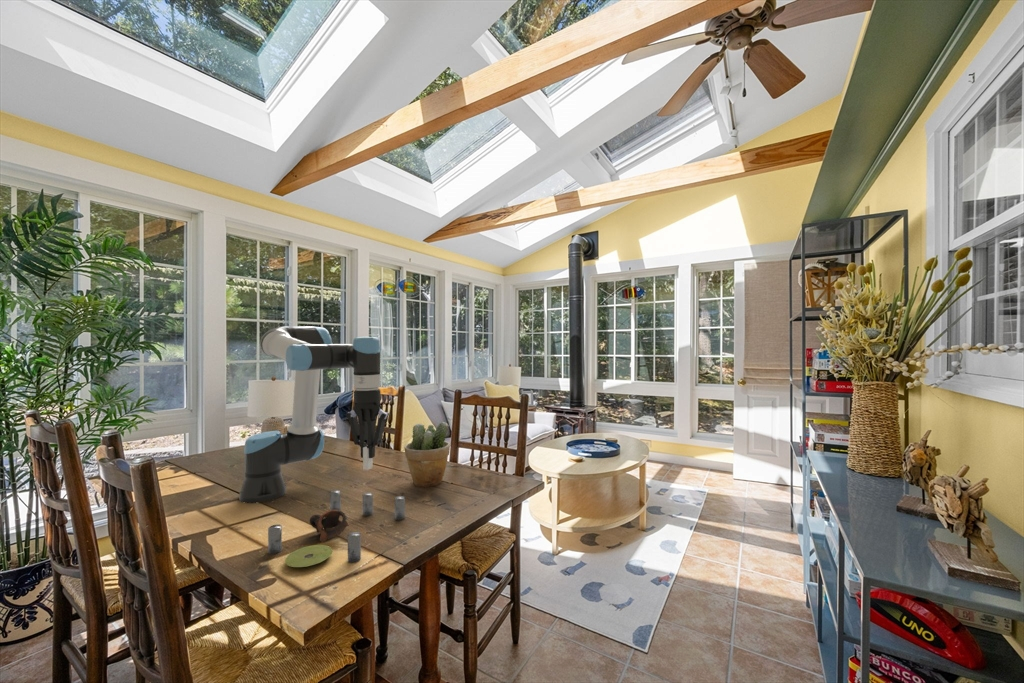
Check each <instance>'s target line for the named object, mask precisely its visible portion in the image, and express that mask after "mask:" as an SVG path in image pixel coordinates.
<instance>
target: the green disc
mask: <svg viewBox="0 0 1024 683" xmlns="http://www.w3.org/2000/svg"><path fill="white" fill-rule="evenodd" d="M333 553H334V551H333V549H332V547H331V546H328V545H327V544H313V545H306V546H303V547H299V548H298V549H296V550H294V551H292V552H290V553H288V555H287V556H286V557H285V559H284V564H285V565H287V566H289V567H293V568H304V567H306V568H307V567H310V566H311V567H312V566H314V565H317V564H320V563H322V562H324V561H325V560H327V559H328V558H330V557H331V556H332V554H333Z"/></svg>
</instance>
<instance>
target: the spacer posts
mask: <svg viewBox="0 0 1024 683" xmlns="http://www.w3.org/2000/svg"><path fill="white" fill-rule="evenodd" d="M329 495H330V496H329V499H330V500H329V502H330V504H329V505H330V506H329V507H330V508H329V511H330V510H339V511H341V502H342V501H341V498H342V497H341V490H340V489H339V490H337V489H335V490H332V491H330V492H329ZM373 498H374V494H373V492H370V491H369V492H363V494H362V517H370V516H373V515H374V499H373ZM405 518H406V496H404V495H399V496H398V495H397V496H396V497H394V520H395V521H403V520H405ZM282 534H283V532H282V525H281V524H274V525H270V526H268V528H267V540H268V542H267V544H268V545H267V547H268V548H267V549H268V550H267V551H268V552H267V553H268V555H276V554H277V555H278V554H279V553H281V552H282V550H283V548H282V546H283V543H282V542H283V540H282ZM361 537H362V535H361V532H359V531H352V532H350V533H348V534H347V563H349V564H355V563H359V562H360V561H361V559H362V555H361V554H362V546H361V544H362V543H361V542H362V541H361V540H362V539H361Z"/></svg>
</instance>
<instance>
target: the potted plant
mask: <svg viewBox="0 0 1024 683" xmlns="http://www.w3.org/2000/svg"><path fill="white" fill-rule="evenodd" d="M448 431H449V424H448V423H447V422H445V421H441V422H439V424H438V425H437V427H436V429H435V427H434V425H432V424H429V425H428V427H427V428H425V425H424V424H422V423H417V424H415V425H413V427H412V435H411V437H412V440H411V442H409V443H407V444H405V445H404V446H403V447H404V455H405V458H406V460H407V465H408V469H409V472H410V476H411V479H412V483H413V485H415V486H417V487H421V488H425V487H426V488H427V487H434V486H435V487H436V486H438V485H440V484H441V483H442V481H443V478H444V476H445V472H446V468H447V463H448V460H449V459H448V458H449V457H448V456H449V455H450V450H451V443H450V442H449V441H447V440H446V436H447V432H448Z"/></svg>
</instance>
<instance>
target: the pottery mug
mask: <svg viewBox="0 0 1024 683" xmlns="http://www.w3.org/2000/svg"><path fill="white" fill-rule="evenodd" d="M340 516H341V518H342V520H340ZM347 520H348V517H347V516H346V514H345V512H343V511H339V510H330V509H329V510H326V511H325V512H324V513H322V514H313V515H311V517H310V518H309V524H310V525H311V526H312V528H314V529H315V530H316V533H317V534H320V537H319V541H320V542H322V543H325V542H326V541H327V540H329V539H333V538H334V537H336V536H339V535H340V534H341V533H343V531H344V530H345V529H346V528H347V527H349V524H348V521H347Z"/></svg>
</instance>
